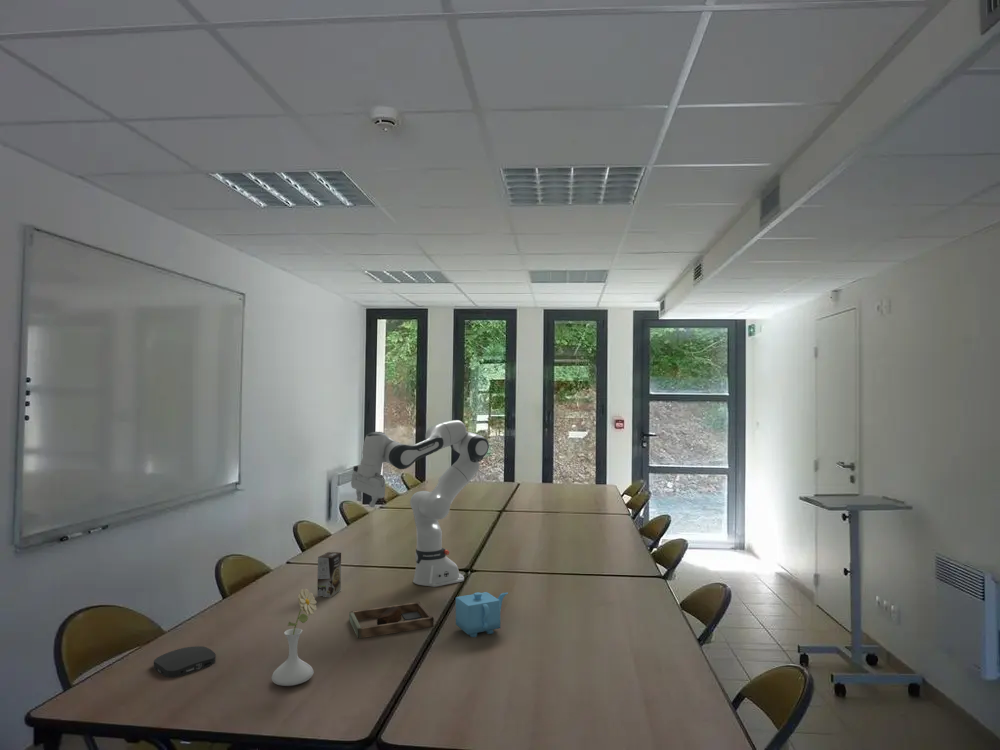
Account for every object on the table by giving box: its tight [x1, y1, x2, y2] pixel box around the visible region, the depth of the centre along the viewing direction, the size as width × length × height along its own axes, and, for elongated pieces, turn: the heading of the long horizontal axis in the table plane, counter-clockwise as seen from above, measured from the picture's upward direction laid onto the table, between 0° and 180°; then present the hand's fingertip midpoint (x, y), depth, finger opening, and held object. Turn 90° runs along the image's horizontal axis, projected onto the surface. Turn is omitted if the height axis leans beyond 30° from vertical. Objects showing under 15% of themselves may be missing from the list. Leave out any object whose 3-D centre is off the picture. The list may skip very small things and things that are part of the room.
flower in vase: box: [270, 588, 318, 687], centre depth 171 cm, size 13×11×25 cm
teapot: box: [455, 591, 509, 638], centre depth 208 cm, size 18×16×13 cm
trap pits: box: [401, 611, 422, 621], centre depth 217 cm, size 6×14×1 cm, turn 23°
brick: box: [376, 605, 402, 625], centre depth 213 cm, size 11×4×5 cm, turn 160°
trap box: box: [348, 601, 435, 639], centre depth 214 cm, size 26×18×3 cm
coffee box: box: [316, 551, 342, 598], centre depth 247 cm, size 9×6×16 cm
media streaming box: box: [153, 645, 216, 678], centre depth 181 cm, size 15×15×3 cm
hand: (365, 503), depth 246 cm, fingers open, 8 cm apart
